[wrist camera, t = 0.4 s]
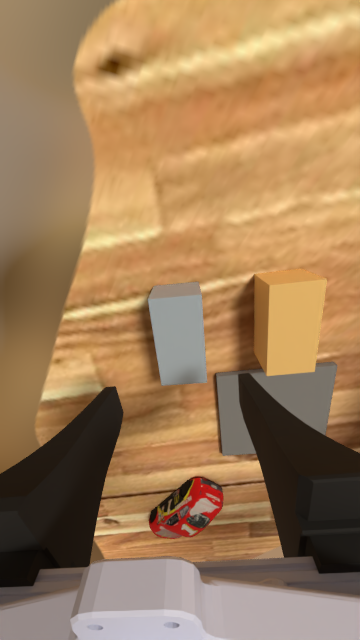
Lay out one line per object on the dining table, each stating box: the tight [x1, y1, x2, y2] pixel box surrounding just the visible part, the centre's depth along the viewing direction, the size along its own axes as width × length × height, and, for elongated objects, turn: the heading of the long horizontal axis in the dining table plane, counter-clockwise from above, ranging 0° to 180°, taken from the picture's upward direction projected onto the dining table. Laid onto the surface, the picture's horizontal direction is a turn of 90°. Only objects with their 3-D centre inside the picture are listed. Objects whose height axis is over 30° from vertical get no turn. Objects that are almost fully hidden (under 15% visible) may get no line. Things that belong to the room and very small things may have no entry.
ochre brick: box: [254, 269, 327, 376], centre depth 20 cm, size 4×8×4 cm, turn 7°
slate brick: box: [148, 282, 207, 386], centre depth 20 cm, size 4×8×4 cm, turn 6°
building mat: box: [216, 362, 337, 456], centre depth 26 cm, size 12×12×1 cm
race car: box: [149, 478, 223, 539], centre depth 32 cm, size 13×5×4 cm, turn 143°
